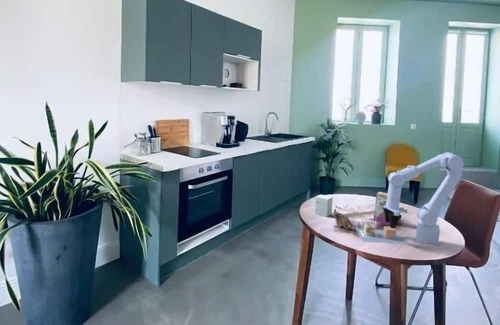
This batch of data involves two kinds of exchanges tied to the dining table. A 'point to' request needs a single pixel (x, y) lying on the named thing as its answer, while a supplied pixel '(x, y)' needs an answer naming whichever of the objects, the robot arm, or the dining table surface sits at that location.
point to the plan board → (379, 237)
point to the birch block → (369, 229)
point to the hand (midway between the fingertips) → (390, 224)
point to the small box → (323, 205)
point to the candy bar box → (380, 207)
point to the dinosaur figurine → (342, 220)
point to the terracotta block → (389, 232)
